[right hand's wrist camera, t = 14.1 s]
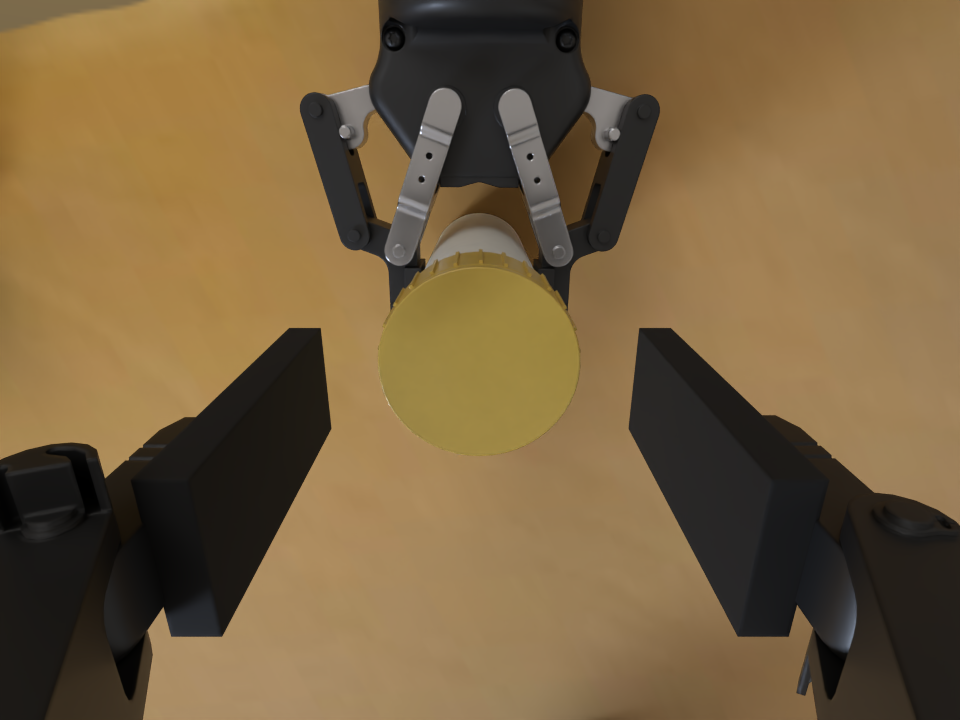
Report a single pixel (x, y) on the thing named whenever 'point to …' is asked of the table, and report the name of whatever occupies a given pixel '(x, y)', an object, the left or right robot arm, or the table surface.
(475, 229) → the jar
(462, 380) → the lid
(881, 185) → the table surface
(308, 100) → the left robot arm
